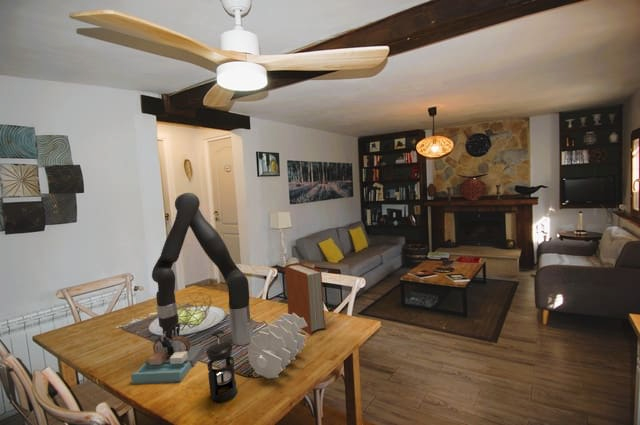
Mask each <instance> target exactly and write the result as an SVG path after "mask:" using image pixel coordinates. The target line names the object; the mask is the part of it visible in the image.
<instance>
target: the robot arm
mask: <svg viewBox="0 0 640 425" xmlns="http://www.w3.org/2000/svg"><path fill="white" fill-rule="evenodd" d="M174 206H175V207H174V208H175V209H176V213H175V219H174V222H173V224H172V226H171V229H170V231H169V232H168V235H167V237H166V240H165V242H164V243H163V246H162V249H161V253H160V256H159V257H158V259H157V261H156V263H155V264H154V266H153V269H152V271H151V278H152V280H153V282H155V283H157V292H156V294H155V295H156V296H155V297H156V305H157V308H156V309H157V310H156V311H157V318H158V319H157V320H158V325H159V327H160V328H161V329H162V336H159V338H158V339H159V340H160V342H161V344H162V346H163V348H167V352H168V355H173V354H174V352H173V346H172V341H173V336H180V331H181V324H180V323H179V321H180V320H179V314H178V305H177V301H176V293H175V288H176V276H175V272H174V271H173V269H172V267H173V265H174V264H175V263H176V262H178V260H179V257H180V255H181V251H182V249H183V245H184V242H185V239H186V235H187V233H188V229H191V231H192V233H193V234H194V236H195V238H196V240H197V241H198V243H199V245H200V247H201V248H202V250H203V251H204V253H205V255H206V256H207V257H208V258H209V259H210V260H211V262H212V263H213V264H214V265H215V266H216V268H218V270H219V272H220V274H221V276H222V277H223V279H224V282H225V284H226V286H227V292H228V308H229V309H228V310H229V312H228V313H229V319H230V320H229V321H230V331H231V342H232V345H233V346H234V345H235V346H245V345H247V344H248V345H249V344H250V342H251V337H253V336H254V326H253V319H252V318H251V311H250V288H249V287H250V286H249V285H250V284H249V281H248V277H247V276H246V275H245V274H244V272H243V271H241V269H240V268H239V267H238V265H237V264H236V263H235V262H234V260H233V258H232V256H231V254H230V251H229V249H228V247H227V245H226V243H225V241H224V240H223V238H222V237H221V235H220V233H219V232H218V231H217V230H216V229H215V228H214V227H213V225H211V224H210V223H209V221H207V219H206V218H205V217H204V215H203V214H202V211H201V210H200V199H199V197H198V195H196V194H195V193H193V192H185V193H182V194H179V195H178V196H177V197H176V198H175V200H174ZM168 338H171V339H168ZM169 342H170V344H169Z"/></svg>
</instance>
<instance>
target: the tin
mask: <svg viewBox="0 0 640 425" xmlns="http://www.w3.org/2000/svg"><path fill="white" fill-rule="evenodd" d="M168 339H171V338H168ZM169 344H170V342H169ZM172 346H173V352H174V353H175V352H182V351H187V352H188V351H189V349H190V346H191V343H190V340H189V339H188V338H186V337H185V336H183V335H179V336H173V341H172ZM153 351H154V353H155V352H167V348H163V346H162V344H161V342H160V340H159V338H157V340H155V341H154V344H153ZM171 356H172V355H168V352H167V357H171Z"/></svg>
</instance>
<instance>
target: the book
mask: <svg viewBox="0 0 640 425" xmlns="http://www.w3.org/2000/svg"><path fill="white" fill-rule="evenodd" d="M284 274H285V275H284V277H285V284H286V285H285V286H286V287H285V288H286V298H287V299H286V300H287V312H288V313H287V314H290V315H292V314H293V313H294V314H296V315H297V316H298V317H300V318H302V317H303V318H304V320H305V322H306V324H307V325H308V326H306V327H303V328H301V329H300V330H302V331H304V332H305V333H307V334H308V335H309V336H312V333H313V332H314V331H316V330H323V331H326V322H325V320H326V319H325V307H324V306H325V305H324V292H323V290H324V289H323V276H322V274H323V273H322V270H321V269H318V268H314V267H311V266H309V265H306V264H302V263H300V262H295V263H290V264H286V265H284Z"/></svg>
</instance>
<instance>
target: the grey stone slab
mask: <svg viewBox="0 0 640 425" xmlns="http://www.w3.org/2000/svg"><path fill="white" fill-rule="evenodd" d="M204 349H205V348H204V345H193V346H191V345H190V349H189V351H188V352H187V355H188V357H187V359H186V360H185V361H184V362H183V363H182V364H187V362H190V363H191V367H192V368H194V367H195V366H196V364H197V362H198V361H199V359H200V358H201V357H202V356H203V354H204V353H205V350H204ZM144 364H147V365H149V358H148V359H147V360H146V361H145V362H144ZM164 364H170V357H167V359H166V360H165V361H164V362H163V363H162V364H158V365H164Z"/></svg>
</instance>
